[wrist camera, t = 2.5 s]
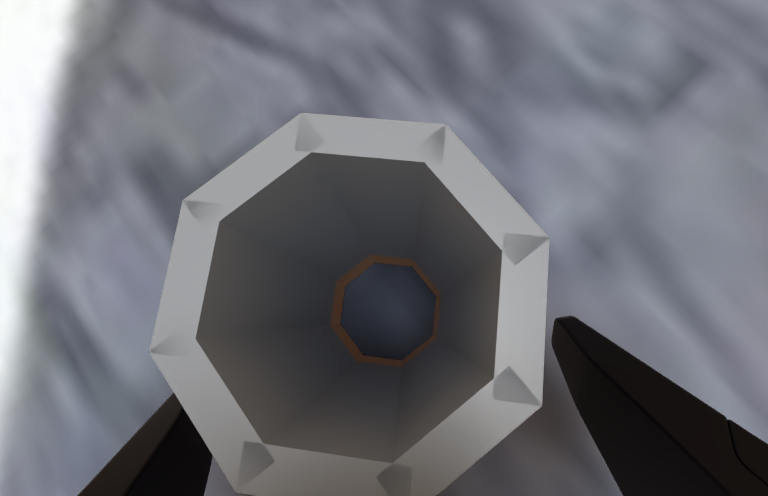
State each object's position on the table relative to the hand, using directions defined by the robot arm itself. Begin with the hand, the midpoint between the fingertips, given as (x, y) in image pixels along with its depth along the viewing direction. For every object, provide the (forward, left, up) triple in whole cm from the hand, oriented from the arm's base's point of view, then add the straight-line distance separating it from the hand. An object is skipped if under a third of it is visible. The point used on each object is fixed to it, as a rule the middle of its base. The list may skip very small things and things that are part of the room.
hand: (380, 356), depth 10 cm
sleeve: (+1, -1, -9) cm, 9 cm away
